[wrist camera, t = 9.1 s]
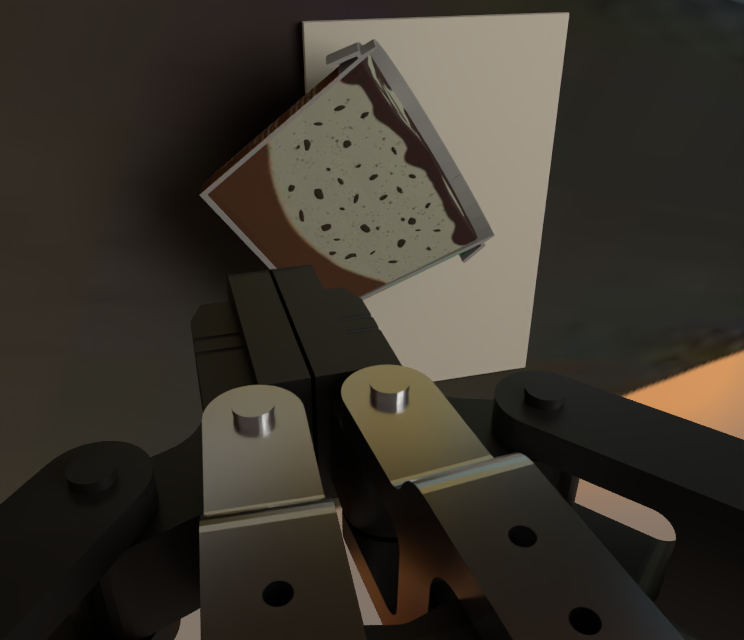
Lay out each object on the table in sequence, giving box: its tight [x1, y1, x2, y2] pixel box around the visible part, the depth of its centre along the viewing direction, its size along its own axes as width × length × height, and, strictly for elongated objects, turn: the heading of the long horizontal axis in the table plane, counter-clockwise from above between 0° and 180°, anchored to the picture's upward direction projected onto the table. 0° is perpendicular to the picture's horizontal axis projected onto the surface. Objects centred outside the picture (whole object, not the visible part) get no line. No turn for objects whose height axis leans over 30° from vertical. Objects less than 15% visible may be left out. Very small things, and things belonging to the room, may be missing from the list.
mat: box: [302, 12, 569, 381], centre depth 41 cm, size 14×22×1 cm, turn 1°
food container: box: [199, 39, 495, 300], centre depth 35 cm, size 12×6×10 cm
